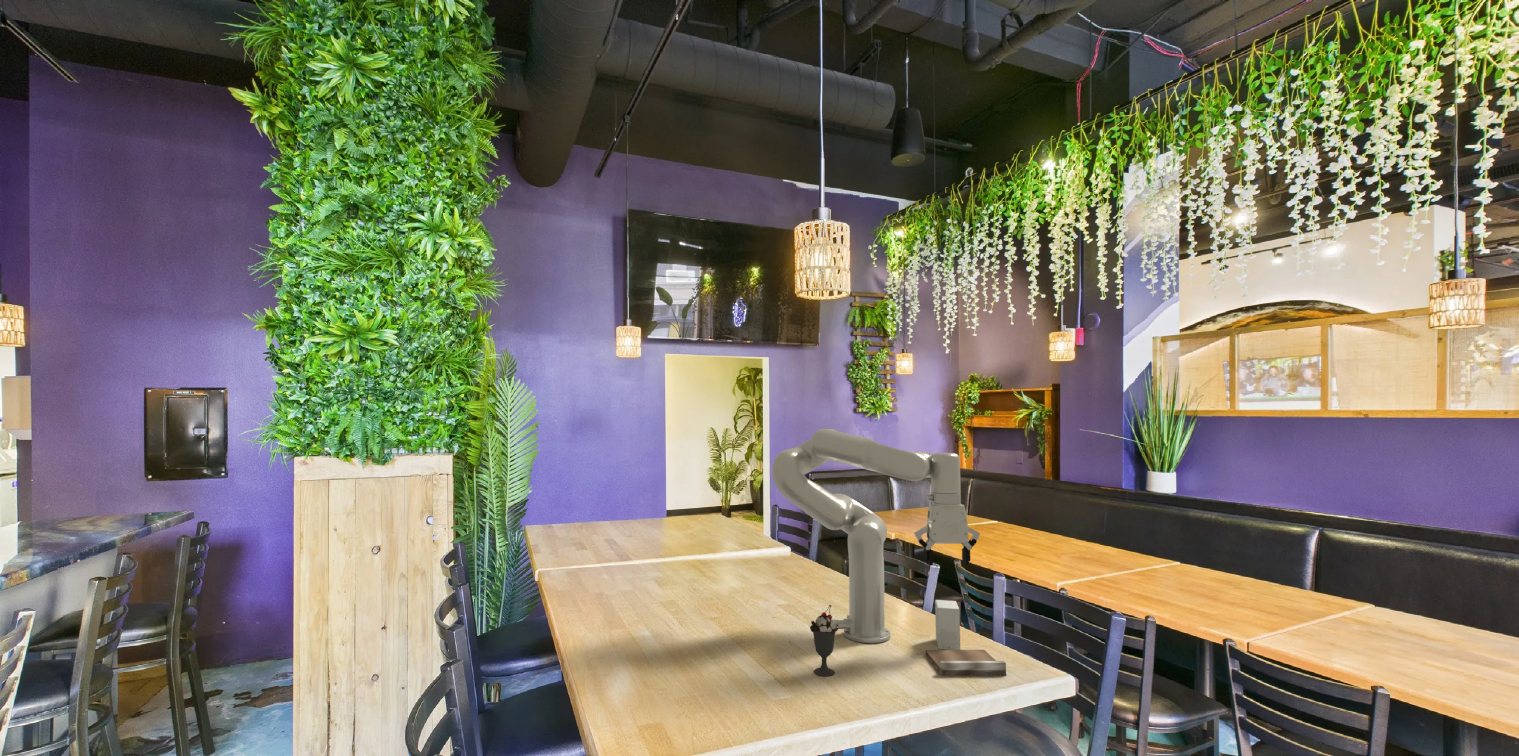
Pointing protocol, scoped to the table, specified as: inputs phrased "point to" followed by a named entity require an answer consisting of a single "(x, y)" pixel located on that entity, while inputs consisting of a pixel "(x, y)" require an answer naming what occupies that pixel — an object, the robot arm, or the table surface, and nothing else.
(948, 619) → the small box
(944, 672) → the shelf board
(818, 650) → the sundae
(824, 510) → the robot arm
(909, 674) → the table surface
